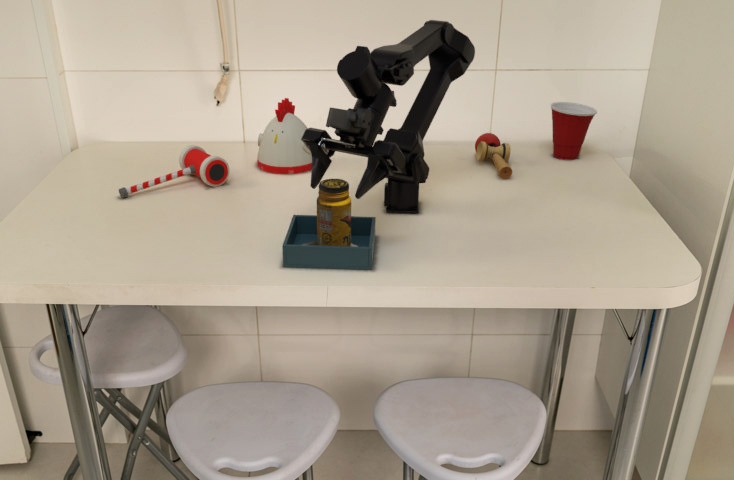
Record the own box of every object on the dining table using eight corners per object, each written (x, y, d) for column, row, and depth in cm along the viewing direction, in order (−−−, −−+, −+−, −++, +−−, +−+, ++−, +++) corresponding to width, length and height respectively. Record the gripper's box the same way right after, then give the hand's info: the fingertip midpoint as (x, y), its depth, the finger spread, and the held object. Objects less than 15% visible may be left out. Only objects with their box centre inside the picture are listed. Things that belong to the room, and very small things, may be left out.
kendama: (524, 183, 175) (501, 148, 189) (523, 157, 171) (500, 124, 185) (490, 190, 175) (469, 155, 189) (489, 165, 171) (468, 131, 185)
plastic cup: (594, 163, 183) (603, 112, 177) (548, 163, 183) (555, 111, 177) (583, 150, 192) (591, 100, 186) (539, 149, 192) (545, 100, 186)
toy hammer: (133, 206, 158) (128, 176, 155) (110, 190, 166) (105, 161, 163) (231, 183, 170) (229, 155, 167) (205, 169, 178) (202, 142, 175)
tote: (375, 237, 145) (375, 216, 143) (371, 269, 133) (372, 248, 131) (294, 234, 146) (293, 214, 144) (283, 267, 134) (282, 245, 132)
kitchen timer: (247, 169, 179) (242, 102, 171) (274, 152, 190) (271, 89, 182) (301, 177, 174) (299, 109, 167) (327, 159, 185) (326, 95, 178)
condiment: (361, 249, 139) (361, 184, 133) (322, 261, 135) (320, 194, 129) (336, 236, 144) (336, 173, 138) (298, 247, 140) (296, 182, 134)
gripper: (305, 80, 135) (269, 160, 132) (399, 94, 126) (362, 179, 124) (331, 116, 144) (298, 190, 142) (420, 131, 136) (386, 211, 133)
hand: (334, 192), depth 135 cm, fingers open, 9 cm apart
